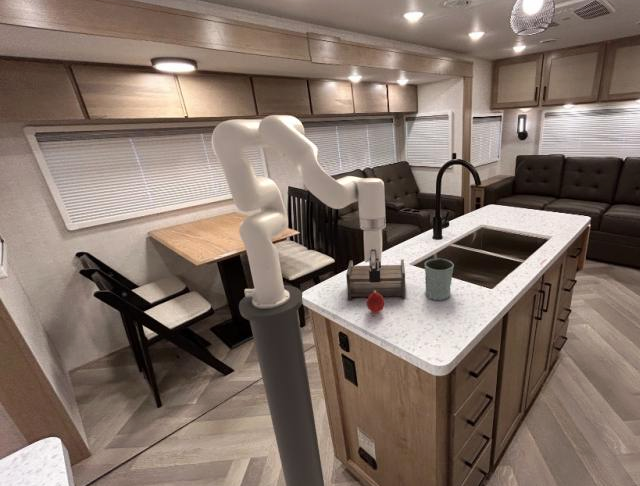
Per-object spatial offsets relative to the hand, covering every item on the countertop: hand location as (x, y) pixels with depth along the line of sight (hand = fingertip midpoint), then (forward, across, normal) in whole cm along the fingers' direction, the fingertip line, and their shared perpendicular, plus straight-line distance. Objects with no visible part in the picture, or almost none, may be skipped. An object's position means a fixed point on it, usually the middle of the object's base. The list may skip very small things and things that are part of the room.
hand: (375, 274), depth 99 cm
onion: (+14, 0, -1) cm, 14 cm away
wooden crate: (+14, -14, -1) cm, 20 cm away
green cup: (+14, -11, +21) cm, 28 cm away
